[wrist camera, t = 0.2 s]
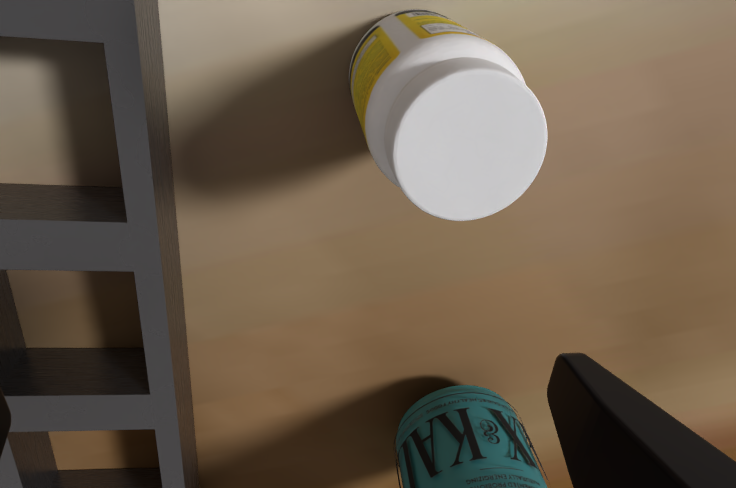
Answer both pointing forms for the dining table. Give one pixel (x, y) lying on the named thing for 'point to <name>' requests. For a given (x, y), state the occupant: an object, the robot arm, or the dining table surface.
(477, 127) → the supplement bottle
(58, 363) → the grey slotted rack
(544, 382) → the dining table surface
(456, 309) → the dining table surface
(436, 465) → the beverage bottle
